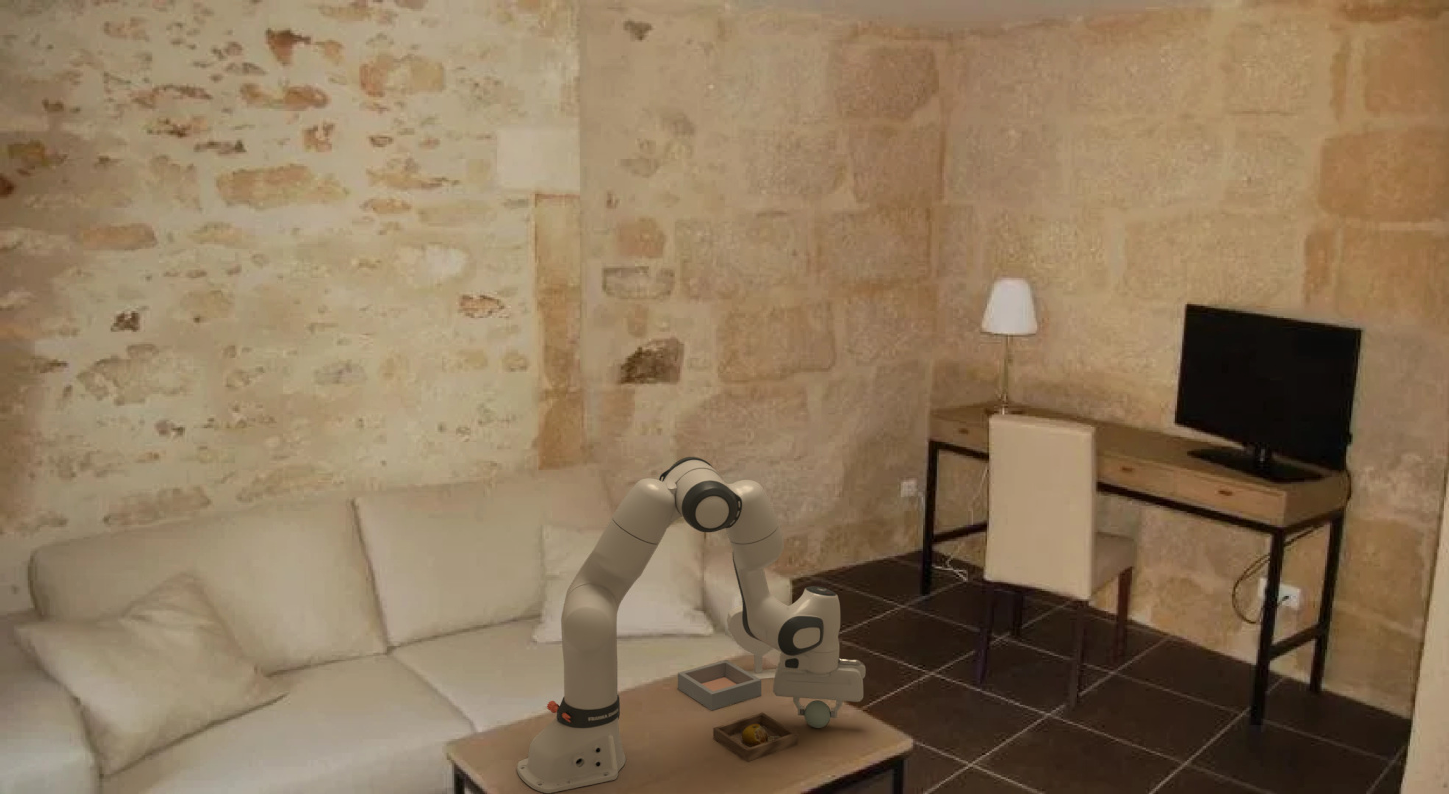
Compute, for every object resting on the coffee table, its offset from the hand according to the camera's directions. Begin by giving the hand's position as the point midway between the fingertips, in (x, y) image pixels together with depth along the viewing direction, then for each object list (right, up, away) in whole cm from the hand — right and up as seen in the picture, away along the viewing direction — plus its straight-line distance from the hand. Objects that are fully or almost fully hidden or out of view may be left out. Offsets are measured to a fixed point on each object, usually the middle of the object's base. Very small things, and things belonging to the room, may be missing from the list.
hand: (817, 715), depth 253 cm
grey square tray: (-22, +1, +18) cm, 28 cm away
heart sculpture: (-12, +2, +28) cm, 31 cm away
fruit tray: (-14, -4, -7) cm, 16 cm away
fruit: (-13, -4, -8) cm, 16 cm away
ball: (0, 0, 0) cm, 0 cm away
